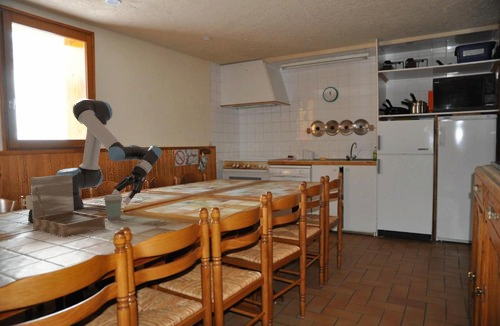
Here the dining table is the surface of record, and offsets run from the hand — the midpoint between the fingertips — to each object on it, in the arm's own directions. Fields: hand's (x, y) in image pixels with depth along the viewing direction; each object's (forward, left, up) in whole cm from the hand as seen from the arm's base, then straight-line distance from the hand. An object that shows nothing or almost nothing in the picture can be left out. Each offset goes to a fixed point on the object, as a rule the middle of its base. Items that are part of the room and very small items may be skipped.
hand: (117, 202), depth 170 cm
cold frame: (-1, -24, -8) cm, 25 cm away
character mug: (-29, -25, -8) cm, 40 cm away
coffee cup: (0, -2, -8) cm, 9 cm away
